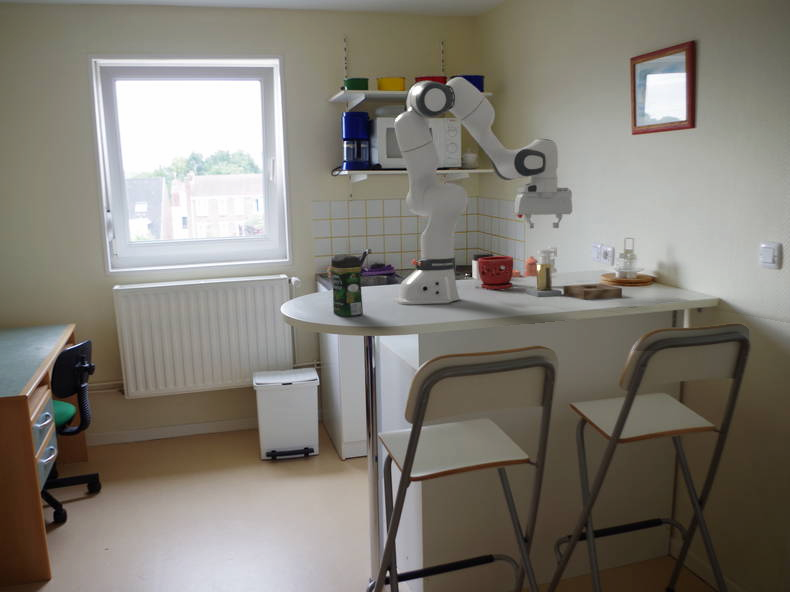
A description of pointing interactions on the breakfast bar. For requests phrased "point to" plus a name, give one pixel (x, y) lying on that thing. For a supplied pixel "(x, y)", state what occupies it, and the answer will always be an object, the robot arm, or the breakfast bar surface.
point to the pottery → (528, 268)
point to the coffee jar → (347, 286)
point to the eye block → (592, 291)
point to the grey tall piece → (548, 257)
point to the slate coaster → (544, 292)
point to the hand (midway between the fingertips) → (543, 228)
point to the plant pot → (496, 272)
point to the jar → (475, 263)
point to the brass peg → (544, 277)
